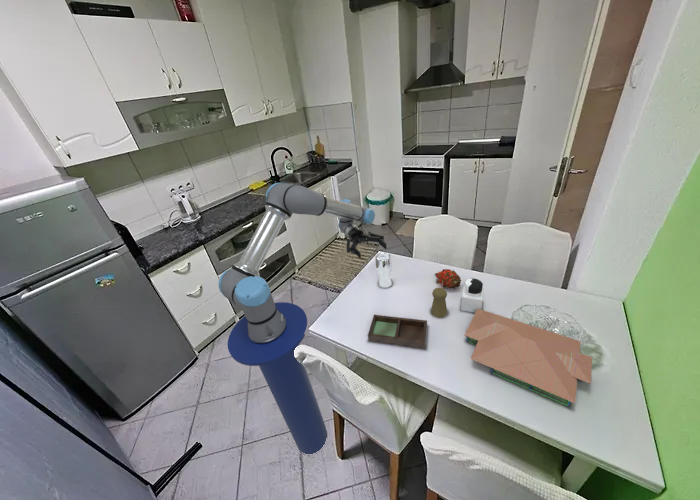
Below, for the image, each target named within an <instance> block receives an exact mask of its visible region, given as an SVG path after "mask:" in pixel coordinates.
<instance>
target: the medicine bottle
mask: <svg viewBox="0 0 700 500" xmlns="http://www.w3.org/2000/svg"><path fill="white" fill-rule="evenodd" d="M464 282H465V283H464V285H463V288H462V294H461V302H460V310H461V311H463V312H469V313H474V314H475V312H476V310H477V308H478V309H481V310H483V309H482V307H483V302H484V291H485V290H484V289H485V288H484V287H483V286H484V283H483V282H482V280H480V279H478V278H473V277H471V278H468V279H465V281H464Z"/></svg>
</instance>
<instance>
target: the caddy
mask: <svg viewBox="0 0 700 500" xmlns="http://www.w3.org/2000/svg"><path fill="white" fill-rule="evenodd" d="M427 332H428V320H426V319H416V318H407V317H400V316H399V317H398V316H389V315H380V314H373V317H372V321H371V323H370V326H369V330H368V333H367V340H368V342H372V343H379V344H386V345H393V346H399V347H407V348H412V349H413V348H414V349H419V350H420V349H422V350H426V346H427V345H426V344H427Z"/></svg>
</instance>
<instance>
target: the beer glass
mask: <svg viewBox="0 0 700 500" xmlns="http://www.w3.org/2000/svg"><path fill="white" fill-rule="evenodd" d="M392 267H393V265H392V257H391V254H390V253H388V252H380V253H377V254H376V255H375V268H376V272H377V275H378V286H379V287H380V288H383V289H385V288H390V287H392V285H393V282H392V281H393V280H392V276H391V275H392V270H393V269H392Z"/></svg>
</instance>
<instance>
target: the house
mask: <svg viewBox="0 0 700 500" xmlns="http://www.w3.org/2000/svg"><path fill="white" fill-rule="evenodd" d="M464 337H466V342H468V343H470V344H473V345H475V347H474V350H473V351H472V355H471V357H470V360H472V361H475V362H476V363H479V364H481V365H483V366H486V367H488V368H491V373H492V374H494V375H496V376H498V377H500V378H503V379H505V380H506V381H507V380H508V381H510V382H512V383H514V384H516V385H518V386H521V387H523V388H525V389H527V390H530V391H533V392H535V393H537V394H539V395H541V396H544V397H546V398H549V399H551V400H553V401H556V402H558V403H560V404H563V405H565V406H567V407H569V405H570V403H573V404H576V397H577V389H578V388H577V387H578V386H577V385H578V380H580V381H582V382H584V383H588V384H592V367H593V357H592V356H590V355H587V354H584V353H581V341H580V340H578V339H576V338H575V339H574V338H572V337H569V336H566V335H562V334H559V333H556V332H553V331H550V330H547V329H543V328H540V327H537V326H534V325H531V324H529V323H525V322H522V321H518V320H515V319H512V318H509V317H506V316H503V315H500V314H497V313H494V312H490V311H487V310H484V309H478V308H477V310H476V312H475V313H474V314H473V317H472V318H471V321H470V323H469V324H468V327H467V329H466V331H465V333H464ZM471 340H472V342H471ZM473 341H474V342H473ZM475 342H476V343H475ZM494 371H495V372H494ZM497 372H498V373H497ZM499 373H500V374H501V375H499ZM502 375H504V376H502ZM505 376H507V377H505ZM508 378H509V379H508ZM511 378H512V379H513V380H511ZM514 380H516V381H515V382H514ZM518 381H519V382H520V383H518ZM521 383H523V384H521ZM524 384H526V386H525V385H524ZM527 386H528V387H527ZM532 388H534V390H533V389H532ZM536 389H537V391H535V390H536ZM539 390H540V391H541V392H539ZM542 391H543V392H544V394H542ZM546 393H547V395H545V394H546ZM549 395H551V396H549ZM553 396H554V397H555V398H559V399H558V400H557V399H555V398H553ZM560 399H561V400H562V401H565V402H564V403H563V402H561V401H560ZM566 403H567V404H566Z"/></svg>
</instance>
